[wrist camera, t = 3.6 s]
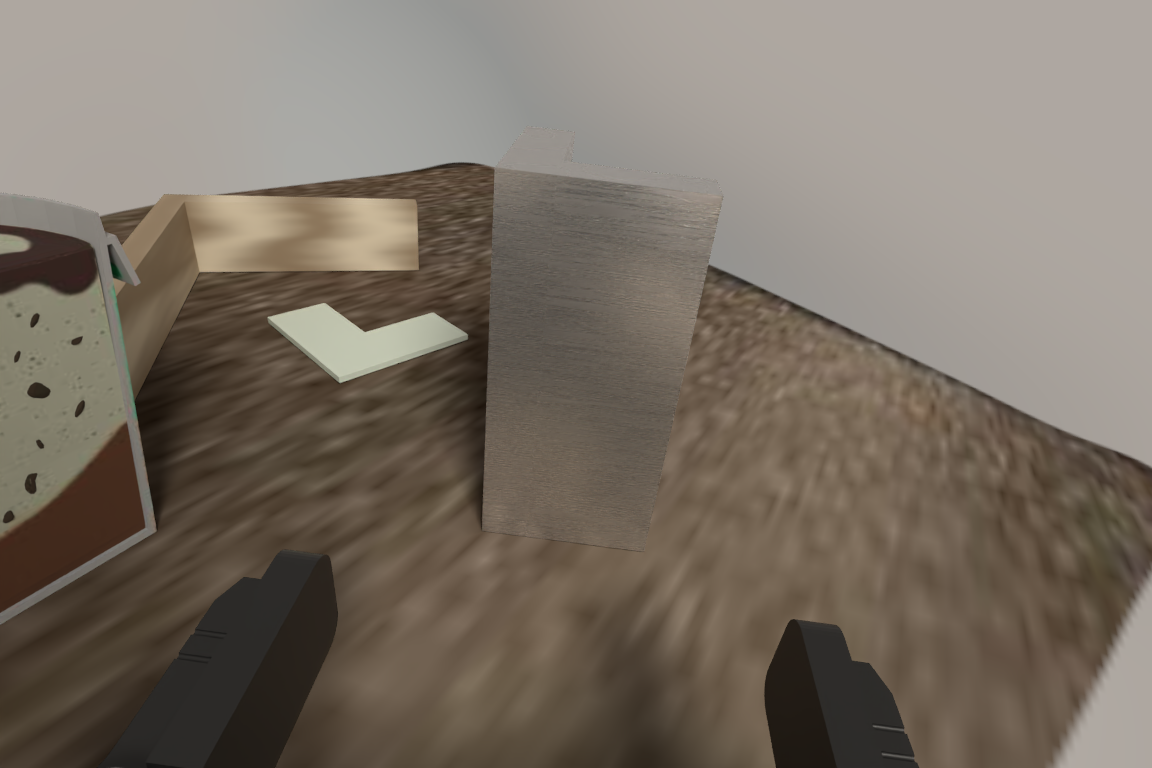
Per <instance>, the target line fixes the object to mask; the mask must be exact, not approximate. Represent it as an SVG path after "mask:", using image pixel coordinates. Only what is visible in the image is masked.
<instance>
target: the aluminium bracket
mask: <svg viewBox="0 0 1152 768" xmlns="http://www.w3.org/2000/svg"><path fill="white" fill-rule="evenodd" d="M574 133H575V132H571V131H563V130H555V129H547V128H539V127H530V126H527V127H526V128H525V129H524V131H523V132H522V133H521V134H520V136H519V137H518V139H517V140H516V141H515V143H514V144H513V145H512V146H511V147H510V149H509V150H508V151H507V153H506V154H505V155H504V156H503V158H502V159H501V160H500V162H499V163H498V164H497V165H496V167H495V181H494V209H493V237H492V264H491V292H490V320H489V348H488V376H487V403H486V431H485V459H484V487H483V515H482V531H488V532H496V533H504V534H511V535H519V536H527V537H534V538H542V539H550V540H557V541H565V542H573V543H580V544H588V545H596V546H603V547H611V548H619V549H627V550H634V551H642V552H644V549H645V544H646V540H647V535H648V531H649V526H650V522H651V517H652V513H653V508H654V504H655V500H656V495H657V491H658V486H659V482H660V477H661V473H662V468H663V464H664V459H665V455H666V450H667V446H668V441H669V437H670V433H671V428H672V424H673V419H674V415H675V410H676V406H677V401H678V397H679V392H680V388H681V383H682V379H683V374H684V370H685V366H686V361H687V357H688V352H689V348H690V343H691V339H692V334H693V330H694V325H695V321H696V316H697V312H698V307H699V303H700V299H701V294H702V290H703V285H704V281H705V276H706V272H707V267H708V263H709V258H710V254H711V249H712V245H713V241H714V236H715V232H716V227H717V223H718V218H719V213H720V209H721V205H722V200H723V194H722V191H721V189H720V187H719V185H718V182H717V180H712V179H703V178H696V177H687V176H679V175H671V174H663V173H656V172H647V171H640V170H632V169H624V168H615V167H607V166H599V165H591V164H583V163H575V162H572V155H573V144H574Z"/></svg>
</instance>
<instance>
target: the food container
mask: <svg viewBox="0 0 1152 768" xmlns="http://www.w3.org/2000/svg"><path fill="white" fill-rule="evenodd" d="M113 278H115V279H118V280H120V281H123V282H126V283H128V284H131V285H134V286H136V285H138V284H140V283H141V282H140V280H139V278H138V276H137V274H136V273H135V271H134V269H133V267H132V265H131V263H130V261H129V259H128V257H127V256H126V254H125V252H124V250H123V248H122V246H121V244H120V242H119V240H118V239H117V237H116V235H113V234H110V233H107V232H104V229H103V226H102V223H101V220H100V217H99V214H98V213H97V212H94V211H91V210H88V209H85V208H82V207H79V206H76V205H72V204H68V203H63V202H59V201H53V200H49V199H44V198H37V197H30V196H23V195H16V194H7V193H0V625H1V624H2V623H4V622H6V621H7V620H9V619H11V618H12V617H14V616H16V615H17V614H19V613H21V612H22V611H24V610H26V609H27V608H29V607H31V606H32V605H34V604H36V603H37V602H39V601H41V600H42V599H44V598H46V597H47V596H49V595H51V594H52V593H54V592H56V591H57V590H59V589H61V588H62V587H64V586H66V585H67V584H69V583H71V582H72V581H74V580H76V579H77V578H79V577H81V576H83V575H84V574H86V573H88V572H89V571H91V570H93V569H94V568H96V567H98V566H99V565H101V564H103V563H104V562H106V561H108V560H109V559H111V558H113V557H114V556H116V555H118V554H119V553H121V552H123V551H124V550H126V549H128V548H129V547H131V546H133V545H134V544H136V543H138V542H139V541H141V540H143V539H144V538H146V537H148V536H149V535H151V534H153V533H154V532H156V531H157V529H156V523H155V517H154V511H153V506H152V500H151V494H150V488H149V483H148V477H147V471H146V466H145V460H144V454H143V448H142V443H141V437H140V431H139V425H138V420H137V414H136V408H135V402H134V397H133V391H132V385H131V379H130V374H129V368H128V362H127V357H126V351H125V345H124V339H123V334H122V328H121V322H120V316H119V311H118V305H117V299H116V293H115V288H114V282H113Z"/></svg>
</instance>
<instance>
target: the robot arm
mask: <svg viewBox="0 0 1152 768" xmlns="http://www.w3.org/2000/svg"><path fill="white" fill-rule="evenodd" d="M337 618H338V611H337V603H336V596H335V588H334V581H333V574H332V567H331V561H330V558H329V556H328V555H323V554H316V553H308V552H301V551H293V550H282V551H281V552H279V553H278V554H277V555H276V557H275V558H274V560H273V561H272V563H271V564H270V566H269V568H268V569H267V571H266V572H265V574H264V575H263V577H262V579H255V578H248V577H244V578H242V579H241V580H240V581H238V582H237V583H236V584H235V585H233V586H232V587H231V588H230V589H228V590H227V591H226V592H225V593H223V594H222V595H221V596H220V597H218V598H217V599H216V600H215V601H214V602H213V604H212V605H211V607H210V608H209V610H208V611H207V613H206V614H205V615H204V617H203V618H202V620H201V621H200V623H199V624H198V626H197V627H196V629H195V633H194V635H191V636H190V637H189V639H188V640H187V642H186V643H185V645H184V646H183V647H182V649H181V650H180V652H179V656H178V658H177V659H174V661H173V662H172V664H171V665H170V666H169V668H168V669H167V671H166V672H165V674H164V675H163V677H162V678H161V680H160V681H159V682H158V684H157V685H156V687H155V688H154V690H153V691H152V693H151V694H150V696H149V697H148V698H147V700H146V701H145V703H144V704H143V706H142V707H141V709H140V710H139V712H138V713H137V714H136V716H135V717H134V719H133V720H132V722H131V723H130V725H129V726H128V728H127V729H126V730H125V732H124V733H123V735H122V736H121V738H120V739H119V741H118V742H117V744H116V745H115V746H114V748H113V749H112V751H111V752H110V753H109V755H108V756H107V757H106V758H105V760H104V761H103V762H102V763H101V764H100V765H99V766H98V767H97V768H275V766H276V764H277V762H278V759H279V757H280V755H281V753H282V751H283V749H284V746H285V744H286V742H287V740H288V738H289V736H290V733H291V731H292V729H293V727H294V725H295V723H296V721H297V718H298V716H299V714H300V712H301V710H302V708H303V705H304V703H305V701H306V699H307V697H308V695H309V692H310V690H311V688H312V686H313V684H314V682H315V679H316V677H317V675H318V673H319V671H320V669H321V666H322V664H323V662H324V660H325V658H326V656H327V654H328V651H329V649H330V647H331V644H332V641H333V638H334V635H335V631H336V626H337ZM764 696H765V709H766V715H767V720H768V726H769V731H770V737H771V742H772V748H773V754H774V759H775V765H776V768H919V766H918V764H917V763H916V762H915V761H914V756H915V755H914V753H913V750H912V747H911V744H910V742H909V739H908V736H907V734H905V733H904V725H903V722H902V720H901V717H900V714H899V711H898V709H897V706H896V703H895V700H894V698H893V695H892V693H891V692H890V690H889V689H888V688H887V686H886V685H885V684H884V682H883V681H882V680H881V678H880V677H879V676H878V674H877V673H876V672H875V670H874V669H873V668H872V666H871V665H870V664H869V663H865V662H857V661H852V660H851V657H850V653H849V650H848V647H847V644H846V641H845V638H844V635H843V633H842V631H841V629H840V628H839V627H838V626H837V625H832V624H825V623H817V622H810V621H802V620H795V619H793V620H791V621H789V623H788V625H787V627H786V629H785V631H784V634H783V636H782V638H781V641H780V643H779V645H778V648H777V650H776V652H775V655H774V657H773V659H772V662H771V664H770V666H769V669H768V671H767V675H766V680H765V695H764Z"/></svg>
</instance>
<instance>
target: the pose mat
mask: <svg viewBox="0 0 1152 768" xmlns="http://www.w3.org/2000/svg"><path fill="white" fill-rule="evenodd" d="M268 323H269V324H270V325H272V326H273V327H274V328H275V329H276V330H278V331H279V332H280V333H281V334H282V335H283V336H285V337H286V338H287V339H288V340H289V341H291V342H292V343H293V344H294V345H295V346H296V347H298V348H299V349H300V350H301V351H302V352H304V353H305V354H306V355H307V356H308V357H309V358H311V359H312V360H313V361H314V362H315V363H316V364H318V365H319V366H320V367H321V368H322V369H324V370H325V371H326V372H327V373H328V374H329V375H331V376H332V377H333V378H334V379H335V380H337V381H338V382H339V383H342V382H345V381H348V380H350V379H353V378H356V377H359V376H362V375H365V374H368V373H371V372H374V371H377V370H380V369H383V368H386V367H389V366H392V365H395V364H397V363H400V362H403V361H406V360H409V359H412V358H415V357H418V356H421V355H424V354H427V353H430V352H433V351H436V350H439V349H442V348H444V347H447V346H450V345H453V344H456V343H459V342H462V341H465V340H468V334H466V333H465V332H463V331H462V330H460V329H458V328H457V327H455V326H454V325H452V324H450V323H449V322H447V321H446V320H444V319H442V318H441V317H439V316H438V315H436V314H435V313H429V314H426V315H423V316H419V317H416V318H412V319H409V320H406V321H402V322H399V323H395V324H392V325H389V326H385V327H382V328H378V329H375V330H372V331H368V332H364V331H362V330H361V329H359V328H358V327H357V326H355V325H354V324H353V323H351V322H350V321H349V320H347V319H346V318H344V317H343V316H342V315H340V314H339V313H338V312H336V311H335V310H333V309H332V308H331V307H329V306H328V305H327V304H325V303H323V304H319V305H315V306H311V307H307V308H303V309H299V310H295V311H291V312H287V313H283V314H279V315H275V316H271V317H268Z"/></svg>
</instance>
